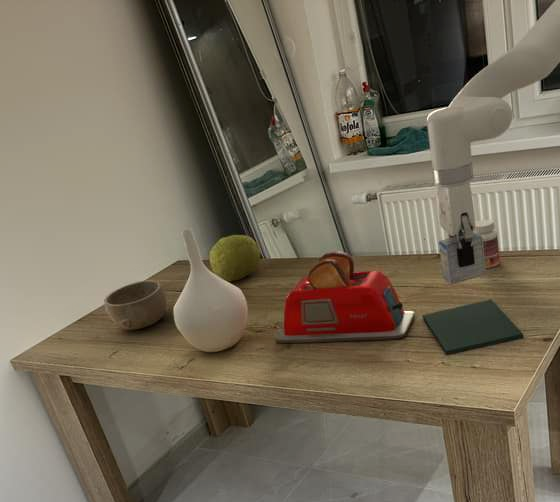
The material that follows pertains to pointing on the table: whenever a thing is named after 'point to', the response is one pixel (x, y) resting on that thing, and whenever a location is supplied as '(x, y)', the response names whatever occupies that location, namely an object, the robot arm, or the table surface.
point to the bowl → (136, 304)
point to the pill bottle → (488, 242)
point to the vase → (208, 306)
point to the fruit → (234, 257)
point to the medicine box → (450, 260)
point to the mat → (471, 327)
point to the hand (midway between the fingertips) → (462, 260)
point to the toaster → (343, 305)
